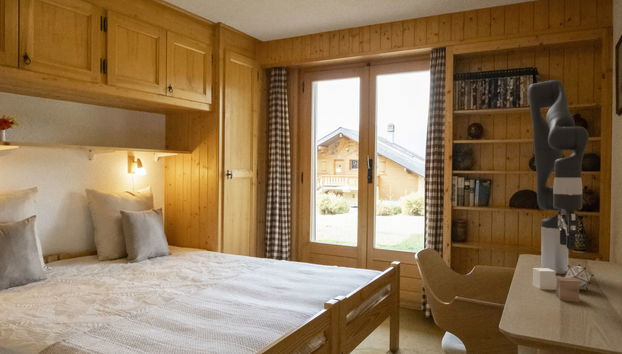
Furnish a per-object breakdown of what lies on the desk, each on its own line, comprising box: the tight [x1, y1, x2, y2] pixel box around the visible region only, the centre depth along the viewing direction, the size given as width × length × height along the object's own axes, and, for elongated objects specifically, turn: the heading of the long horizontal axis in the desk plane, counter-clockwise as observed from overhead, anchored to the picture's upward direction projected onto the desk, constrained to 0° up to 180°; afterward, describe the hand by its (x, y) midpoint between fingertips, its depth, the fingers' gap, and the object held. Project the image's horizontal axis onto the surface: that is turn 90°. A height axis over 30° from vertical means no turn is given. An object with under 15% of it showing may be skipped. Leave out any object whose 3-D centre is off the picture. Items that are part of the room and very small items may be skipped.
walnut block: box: [555, 276, 580, 303], centre depth 130 cm, size 5×5×6 cm
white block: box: [532, 267, 557, 291], centre depth 144 cm, size 5×5×6 cm
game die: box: [564, 263, 595, 291], centre depth 142 cm, size 9×8×10 cm
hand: (567, 246), depth 130 cm, fingers open, 8 cm apart
